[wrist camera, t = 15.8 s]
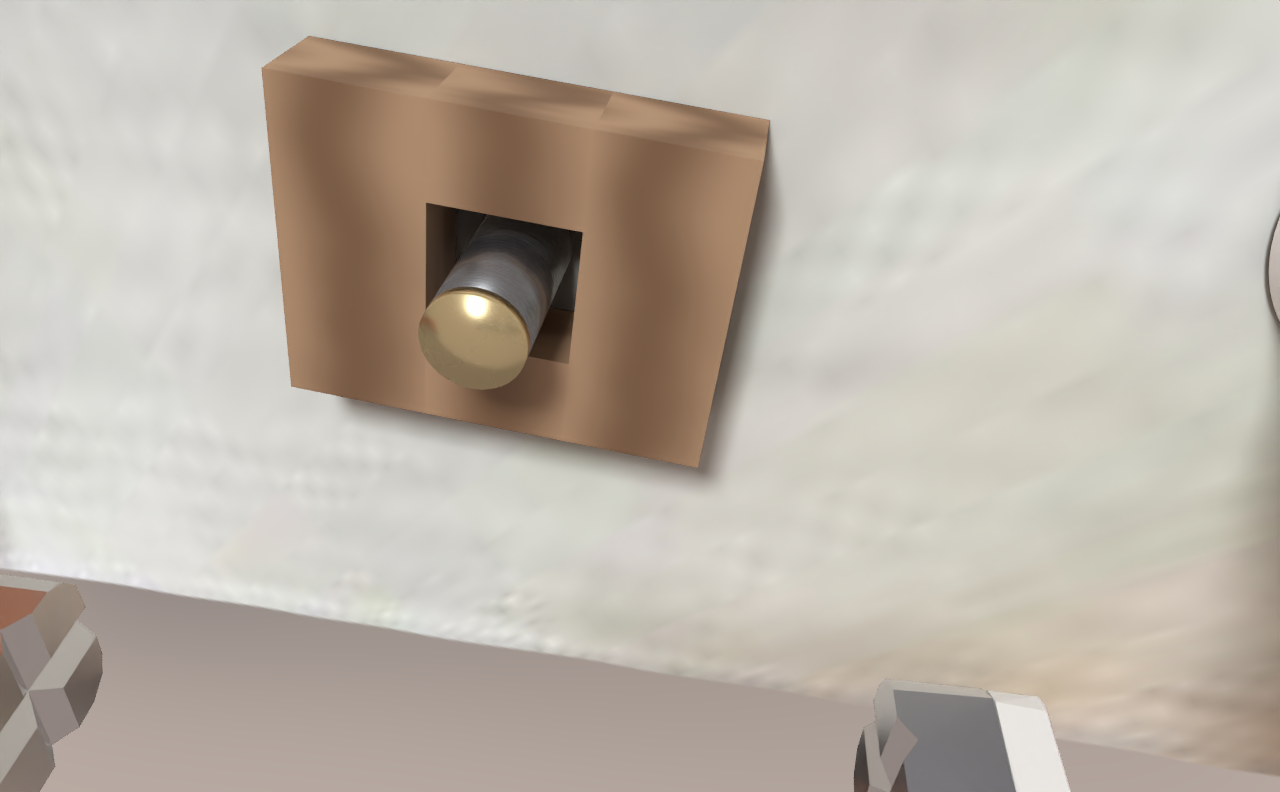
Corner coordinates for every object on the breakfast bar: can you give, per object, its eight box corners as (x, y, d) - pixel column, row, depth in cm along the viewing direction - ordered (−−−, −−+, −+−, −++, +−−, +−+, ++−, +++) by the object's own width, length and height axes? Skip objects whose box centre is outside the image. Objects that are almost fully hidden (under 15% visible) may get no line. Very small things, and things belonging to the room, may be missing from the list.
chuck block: (769, 120, 38) (764, 160, 35) (707, 413, 46) (697, 467, 43) (308, 35, 39) (261, 67, 36) (328, 338, 47) (291, 386, 44)
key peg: (576, 208, 41) (530, 306, 35) (568, 292, 44) (523, 398, 37) (481, 190, 41) (418, 285, 35) (478, 275, 44) (418, 377, 37)
